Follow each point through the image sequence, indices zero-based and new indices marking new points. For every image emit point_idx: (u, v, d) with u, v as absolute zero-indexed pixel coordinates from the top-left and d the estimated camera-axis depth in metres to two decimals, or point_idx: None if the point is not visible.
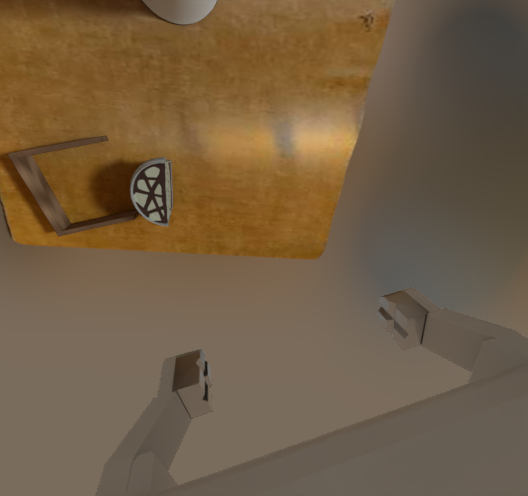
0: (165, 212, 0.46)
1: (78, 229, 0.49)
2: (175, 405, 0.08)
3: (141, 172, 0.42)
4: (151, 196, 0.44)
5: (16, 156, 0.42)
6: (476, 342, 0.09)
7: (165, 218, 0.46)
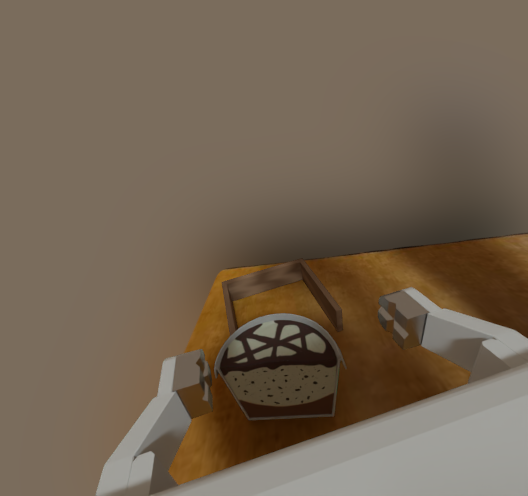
0: (241, 365, 0.23)
1: (226, 294, 0.41)
2: (175, 405, 0.08)
3: (311, 328, 0.25)
4: (271, 343, 0.25)
5: (300, 262, 0.45)
6: (476, 342, 0.09)
7: (230, 365, 0.23)
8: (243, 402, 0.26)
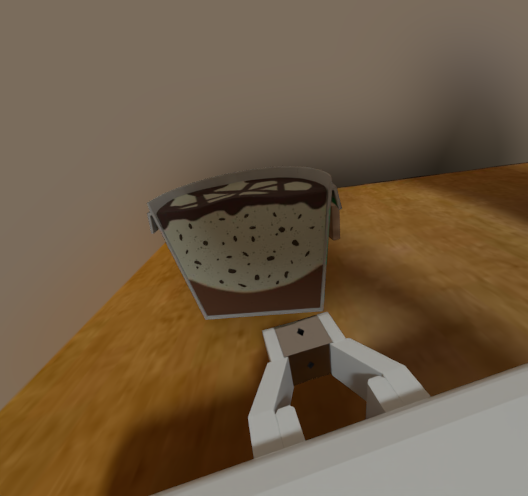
0: (188, 209, 0.16)
1: None
2: (287, 370, 0.09)
3: (293, 179, 0.18)
4: (235, 192, 0.17)
5: None
6: (370, 377, 0.08)
7: (171, 210, 0.16)
8: (196, 285, 0.19)
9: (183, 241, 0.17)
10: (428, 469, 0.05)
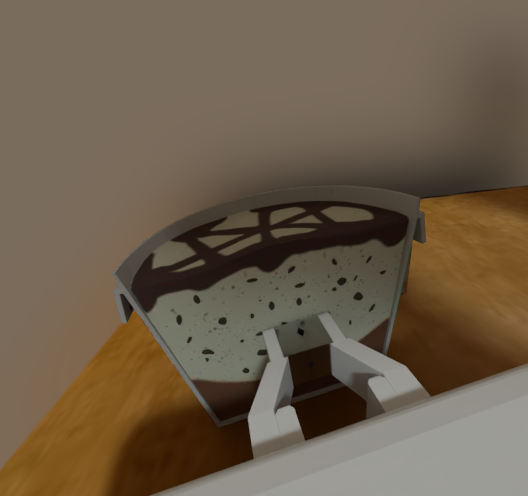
0: (191, 272, 0.09)
1: None
2: (287, 370, 0.09)
3: (326, 203, 0.13)
4: (254, 231, 0.11)
5: None
6: (370, 377, 0.08)
7: (159, 278, 0.09)
8: (204, 384, 0.11)
9: (183, 325, 0.10)
10: (428, 469, 0.05)
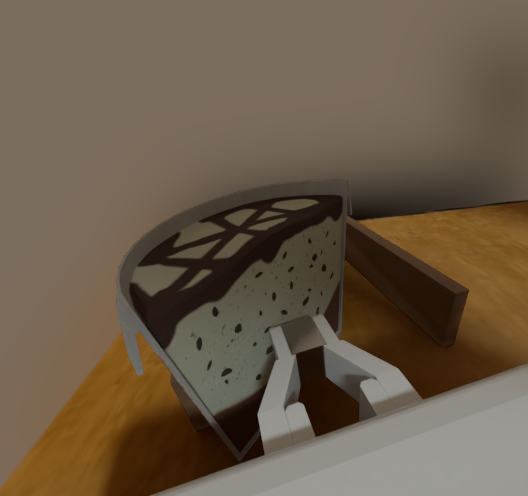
0: (206, 282, 0.08)
1: None
2: (295, 367, 0.09)
3: (268, 201, 0.14)
4: (228, 234, 0.11)
5: None
6: (363, 379, 0.08)
7: (173, 300, 0.07)
8: (224, 415, 0.10)
9: (203, 349, 0.08)
10: (428, 469, 0.05)
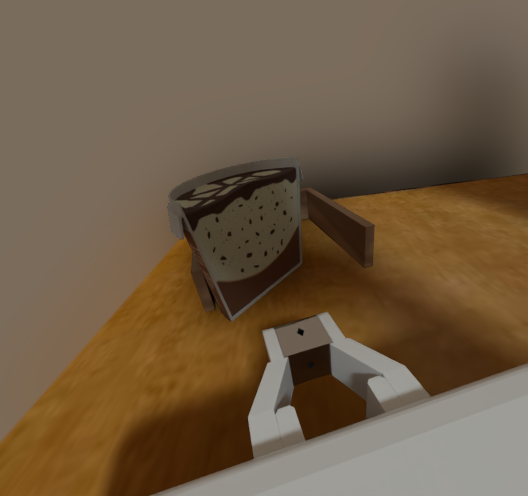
0: (212, 203, 0.16)
1: None
2: (287, 370, 0.09)
3: (250, 172, 0.22)
4: (224, 187, 0.19)
5: (307, 189, 0.33)
6: (370, 377, 0.08)
7: (197, 208, 0.15)
8: (222, 285, 0.18)
9: (211, 238, 0.16)
10: (428, 469, 0.05)
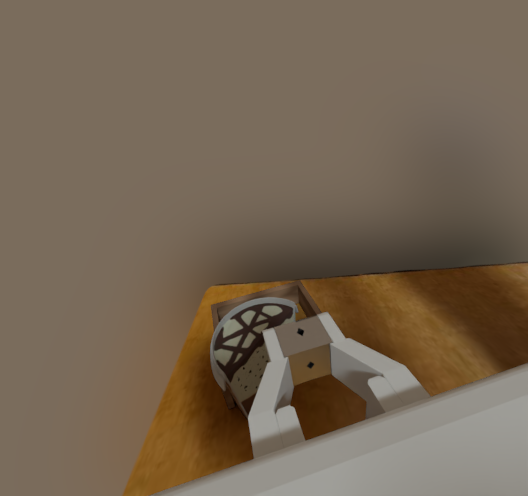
0: (241, 359, 0.25)
1: (215, 321, 0.37)
2: (287, 370, 0.09)
3: (260, 305, 0.31)
4: (245, 331, 0.28)
5: (298, 284, 0.42)
6: (370, 377, 0.08)
7: (232, 367, 0.24)
8: (244, 402, 0.27)
9: (239, 380, 0.25)
10: (428, 469, 0.05)
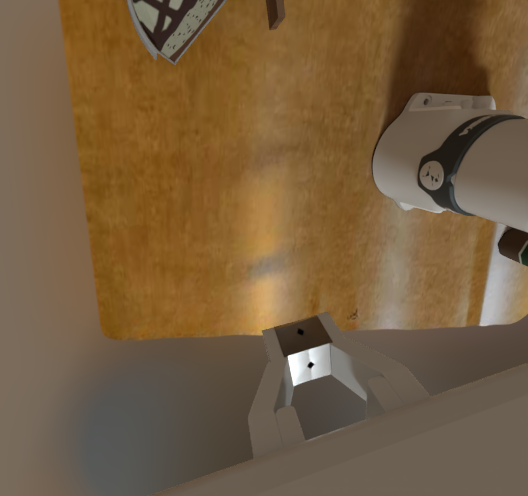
0: (171, 27, 0.22)
1: None
2: (287, 370, 0.09)
3: None
4: None
5: None
6: (370, 377, 0.08)
7: (162, 37, 0.22)
8: (171, 56, 0.28)
9: (169, 45, 0.24)
10: (428, 469, 0.05)
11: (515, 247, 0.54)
